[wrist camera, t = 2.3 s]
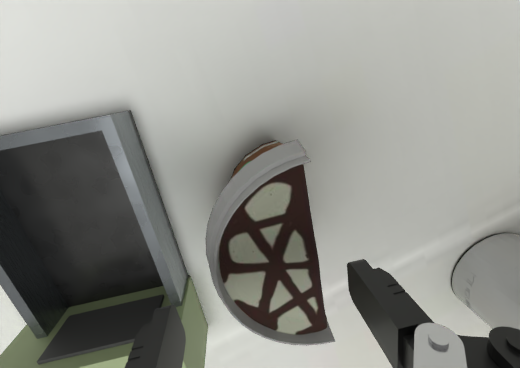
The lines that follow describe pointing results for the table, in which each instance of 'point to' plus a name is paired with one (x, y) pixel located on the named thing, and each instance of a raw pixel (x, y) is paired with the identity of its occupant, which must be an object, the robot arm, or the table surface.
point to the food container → (269, 248)
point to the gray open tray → (82, 220)
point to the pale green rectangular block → (107, 333)
